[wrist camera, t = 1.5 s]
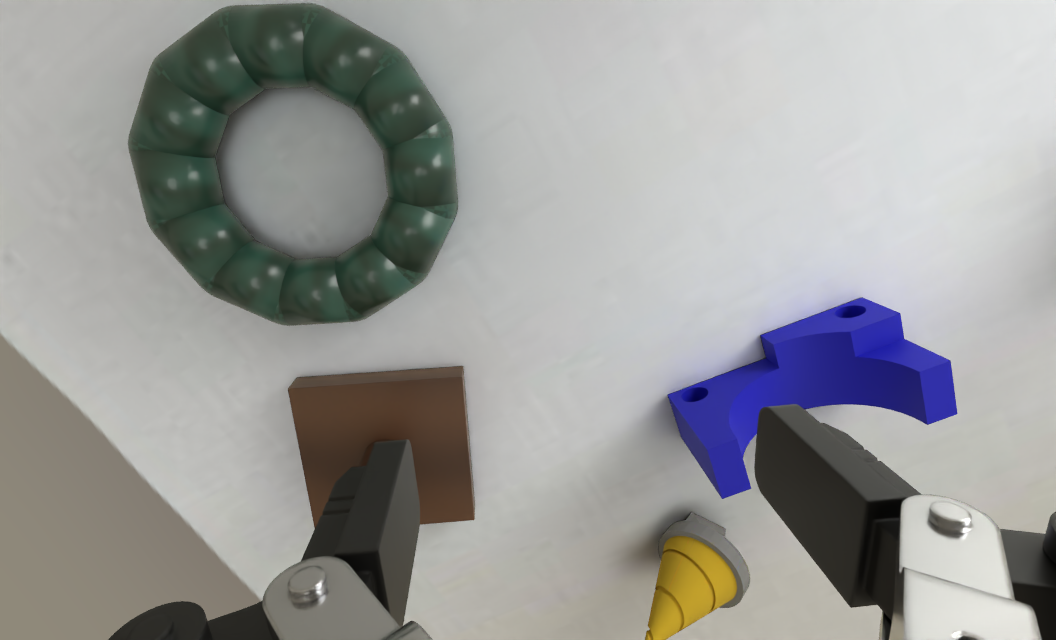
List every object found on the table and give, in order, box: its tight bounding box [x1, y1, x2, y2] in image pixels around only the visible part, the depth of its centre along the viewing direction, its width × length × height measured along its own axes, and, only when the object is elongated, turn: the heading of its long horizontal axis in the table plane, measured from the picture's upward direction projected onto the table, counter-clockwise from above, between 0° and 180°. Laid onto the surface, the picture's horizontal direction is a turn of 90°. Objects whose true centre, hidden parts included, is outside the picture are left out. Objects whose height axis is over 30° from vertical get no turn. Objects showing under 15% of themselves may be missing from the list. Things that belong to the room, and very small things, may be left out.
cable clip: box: [668, 298, 957, 499], centre depth 29 cm, size 12×4×6 cm, turn 111°
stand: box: [288, 366, 475, 528], centre depth 26 cm, size 9×9×12 cm
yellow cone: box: [645, 512, 750, 640], centre depth 32 cm, size 5×5×10 cm
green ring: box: [128, 3, 458, 326], centre depth 25 cm, size 14×14×3 cm
